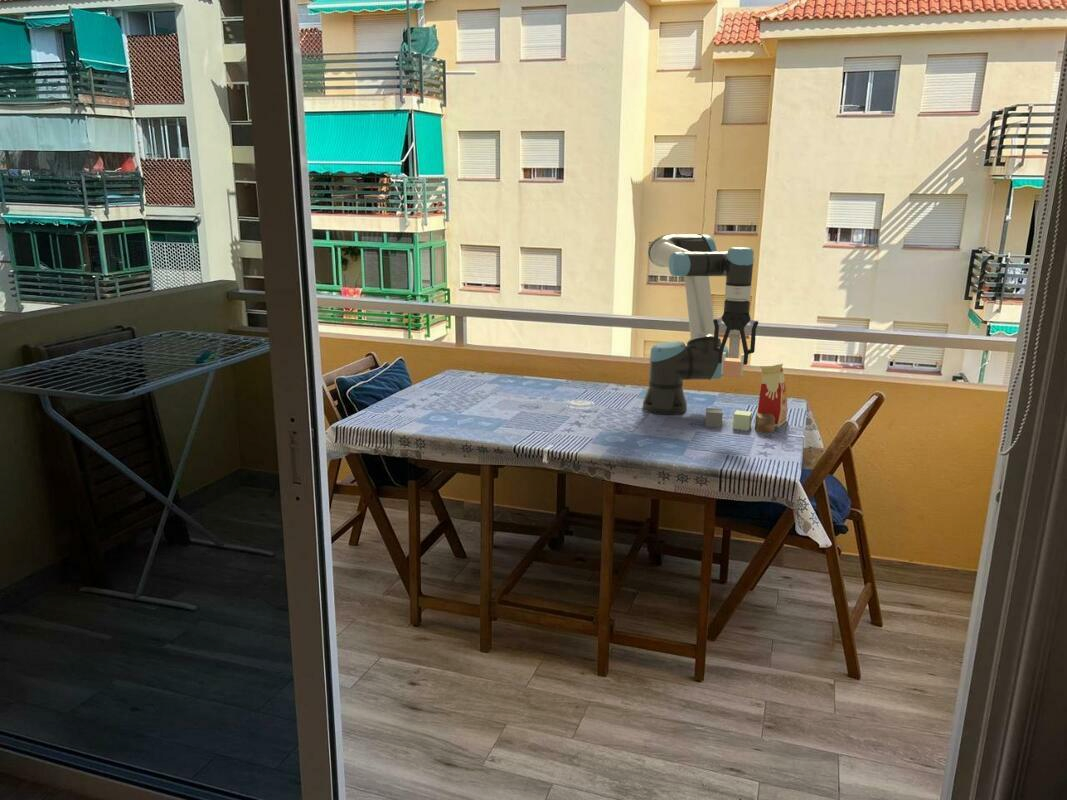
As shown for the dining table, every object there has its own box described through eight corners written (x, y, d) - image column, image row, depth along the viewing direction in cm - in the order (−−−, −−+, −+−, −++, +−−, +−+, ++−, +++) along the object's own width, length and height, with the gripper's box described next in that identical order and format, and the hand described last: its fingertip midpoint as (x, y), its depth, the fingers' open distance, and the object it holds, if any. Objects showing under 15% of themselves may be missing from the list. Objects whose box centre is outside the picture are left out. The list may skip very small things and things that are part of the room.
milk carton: (786, 420, 259) (792, 361, 253) (779, 427, 251) (785, 367, 246) (759, 416, 263) (764, 358, 258) (751, 423, 255) (756, 363, 250)
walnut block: (757, 432, 245) (758, 417, 244) (754, 428, 250) (756, 413, 249) (773, 433, 245) (775, 418, 244) (770, 428, 250) (772, 413, 248)
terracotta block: (722, 376, 240) (724, 360, 238) (724, 373, 244) (725, 357, 243) (739, 377, 238) (740, 361, 237) (740, 374, 243) (741, 358, 242)
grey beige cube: (705, 427, 251) (706, 412, 250) (705, 422, 256) (706, 408, 255) (721, 427, 250) (722, 412, 249) (720, 423, 255) (721, 408, 254)
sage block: (732, 429, 249) (733, 414, 248) (735, 424, 254) (736, 410, 252) (748, 430, 247) (749, 415, 246) (750, 426, 252) (752, 411, 250)
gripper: (705, 299, 234) (701, 374, 241) (768, 302, 229) (761, 378, 235) (708, 296, 241) (703, 369, 247) (768, 299, 236) (762, 373, 242)
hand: (731, 373), depth 241 cm, fingers closed on terracotta block, 5 cm apart
